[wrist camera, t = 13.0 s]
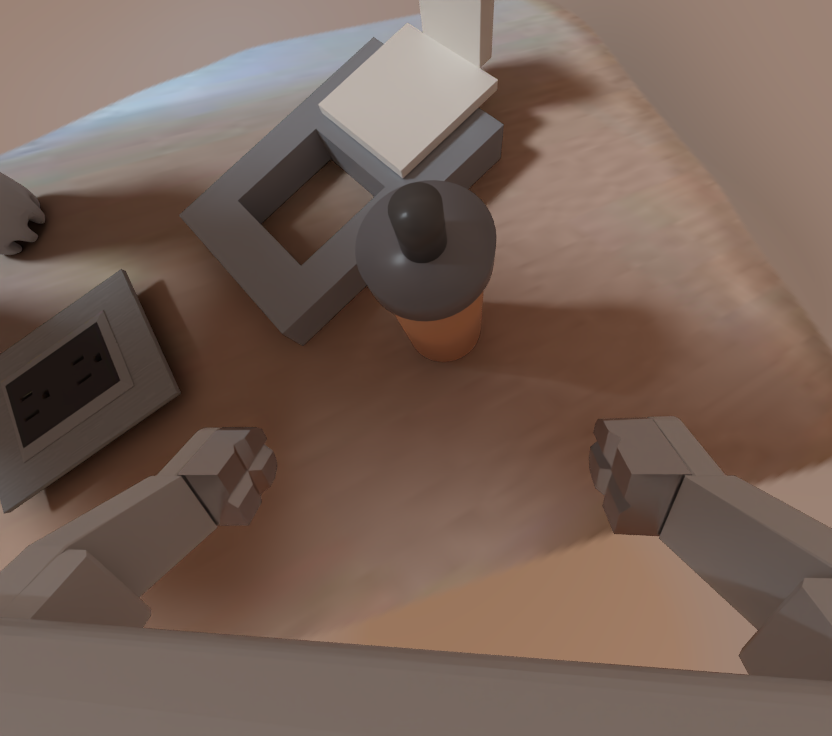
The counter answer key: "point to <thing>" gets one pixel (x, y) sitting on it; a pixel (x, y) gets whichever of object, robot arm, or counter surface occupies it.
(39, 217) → the bottle
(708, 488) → the robot arm
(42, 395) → the electrical outlet
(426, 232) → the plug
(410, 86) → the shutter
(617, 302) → the counter surface
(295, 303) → the socket block
